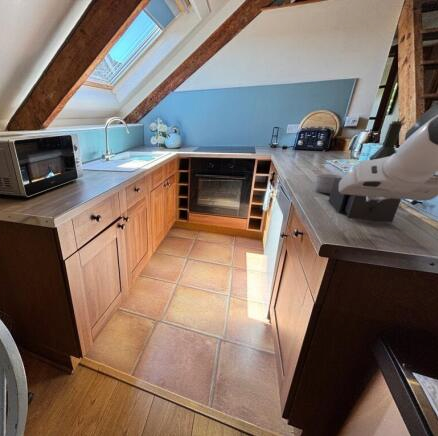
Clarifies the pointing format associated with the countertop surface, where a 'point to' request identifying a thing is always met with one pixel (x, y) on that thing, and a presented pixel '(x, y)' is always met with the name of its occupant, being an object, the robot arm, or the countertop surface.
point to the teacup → (325, 182)
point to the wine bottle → (389, 141)
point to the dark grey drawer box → (337, 197)
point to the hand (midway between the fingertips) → (372, 199)
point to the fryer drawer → (371, 208)
